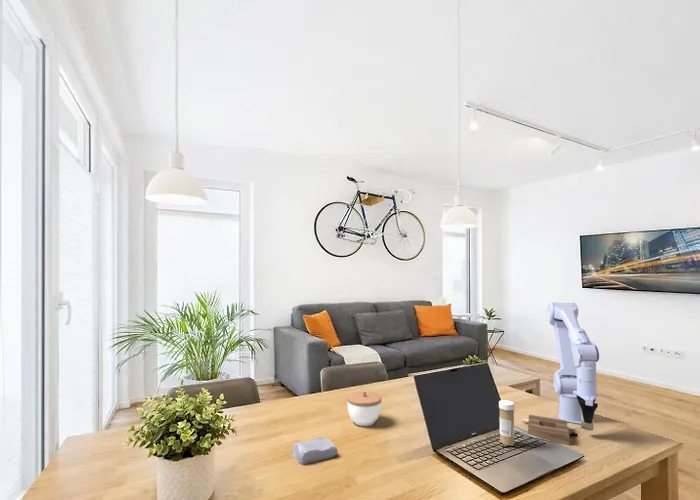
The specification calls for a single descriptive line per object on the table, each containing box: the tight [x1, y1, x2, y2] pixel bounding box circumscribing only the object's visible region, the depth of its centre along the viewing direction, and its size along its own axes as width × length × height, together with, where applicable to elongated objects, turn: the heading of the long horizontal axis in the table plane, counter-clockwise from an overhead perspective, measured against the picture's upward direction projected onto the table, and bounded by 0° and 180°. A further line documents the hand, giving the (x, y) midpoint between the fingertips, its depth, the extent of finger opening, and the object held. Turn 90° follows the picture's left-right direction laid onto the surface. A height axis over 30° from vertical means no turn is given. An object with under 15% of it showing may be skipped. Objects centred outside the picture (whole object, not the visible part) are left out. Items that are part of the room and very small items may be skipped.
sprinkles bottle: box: [498, 399, 515, 446], centre depth 122 cm, size 5×5×14 cm
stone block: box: [292, 436, 338, 465], centre depth 114 cm, size 12×5×10 cm
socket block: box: [527, 413, 570, 446], centre depth 131 cm, size 14×12×3 cm
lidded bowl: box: [346, 390, 382, 427], centre depth 139 cm, size 13×13×11 cm
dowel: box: [580, 410, 594, 431], centre depth 129 cm, size 4×4×8 cm
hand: (587, 420), depth 129 cm, fingers closed on dowel, 3 cm apart
